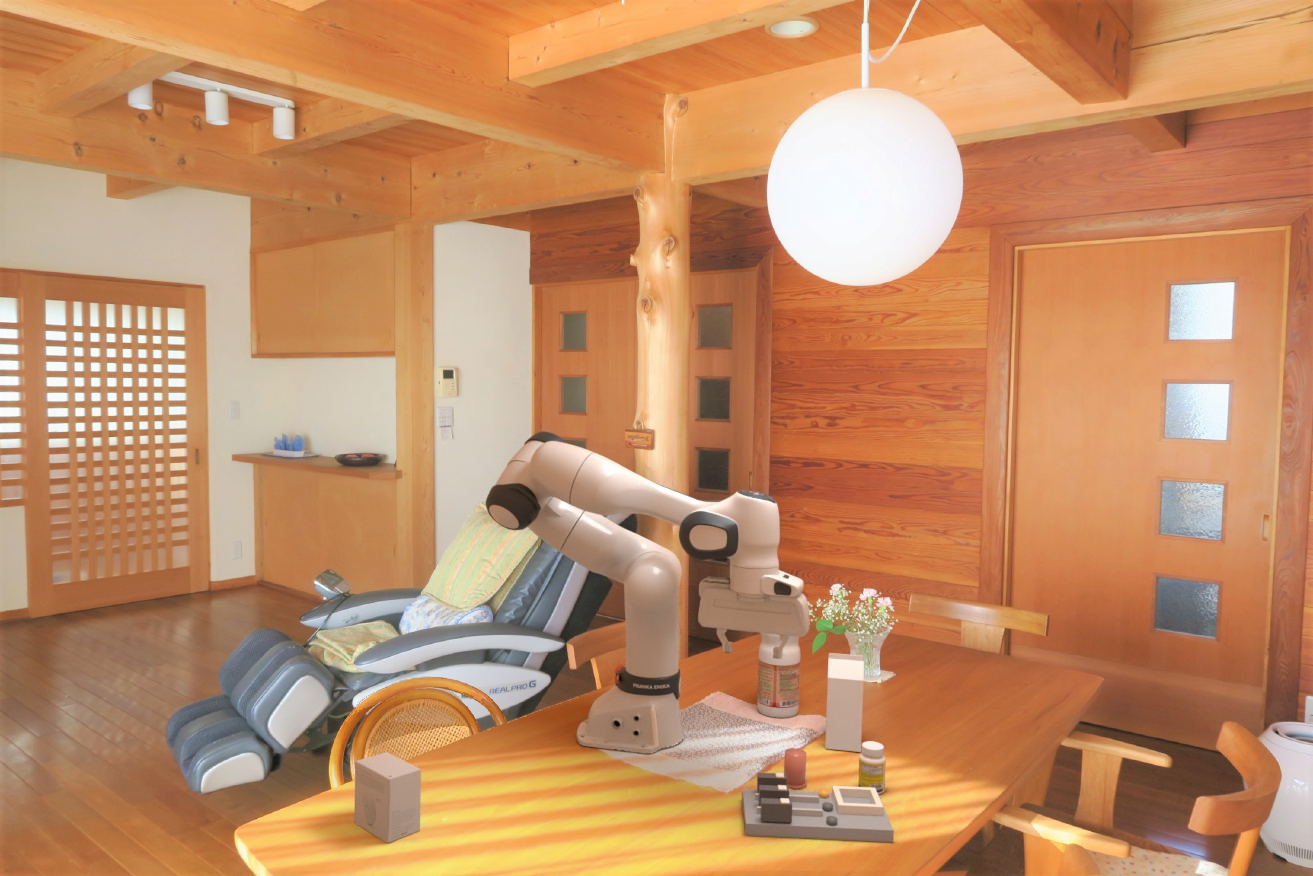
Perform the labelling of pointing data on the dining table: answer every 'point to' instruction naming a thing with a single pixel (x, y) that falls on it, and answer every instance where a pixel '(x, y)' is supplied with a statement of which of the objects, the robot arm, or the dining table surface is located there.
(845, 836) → the panel
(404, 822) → the skincare box
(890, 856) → the dining table surface
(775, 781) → the block
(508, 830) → the dining table surface
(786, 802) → the block
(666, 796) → the dining table surface
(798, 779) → the cap
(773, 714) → the fruit juice
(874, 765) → the supplement bottle
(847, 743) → the milk carton
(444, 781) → the dining table surface
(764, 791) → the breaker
